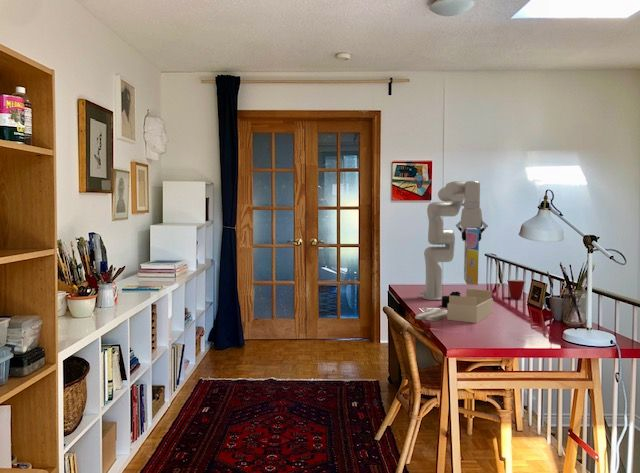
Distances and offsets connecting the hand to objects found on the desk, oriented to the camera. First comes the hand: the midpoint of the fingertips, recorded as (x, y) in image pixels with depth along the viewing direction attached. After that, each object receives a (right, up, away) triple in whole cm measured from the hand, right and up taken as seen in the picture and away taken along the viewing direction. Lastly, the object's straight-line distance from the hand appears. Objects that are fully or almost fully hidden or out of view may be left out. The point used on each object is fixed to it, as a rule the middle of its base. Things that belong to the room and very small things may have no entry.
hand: (471, 240), depth 261 cm
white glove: (-18, -39, +3) cm, 43 cm away
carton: (0, -39, +1) cm, 39 cm away
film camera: (-3, -38, +28) cm, 48 cm away
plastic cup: (+44, -37, +56) cm, 80 cm away
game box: (0, -22, +1) cm, 22 cm away
